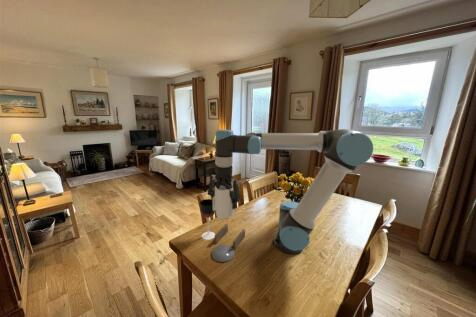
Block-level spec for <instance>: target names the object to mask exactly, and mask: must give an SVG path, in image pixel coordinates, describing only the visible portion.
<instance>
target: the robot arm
mask: <svg viewBox="0 0 476 317" xmlns="http://www.w3.org/2000/svg"><path fill="white" fill-rule="evenodd" d="M214 142H215V147H214V148H215V150H214V151H215V155H214V156H215V158H214V159H215V162H214V163H215V170H214V172H215V174H211V175H210V176H209V183H208V184H209V185H208V190H207V195H208V196H210V197H211V198H210V199H211V202H212V203H213V211H215V212H216V207H215V185H216V187H217V189H219V187H220V185H223V186H225V187H226V189H229V190H230V189H232V188H233V191H231V190H230V191H229V195H230V198H231V200H232V202H230V216H231V217H232V216H234V215H235V209H236V208H237V203H239V202H240V201H241V195H240V189H239V188H240V187H239V178H233V161H234V160H233V156H234V154H246V155H247V154H248V155H259V154H260V153H261V151H262V150H294V151H296V150H298V151H299V150H300V151H301V150H303V151H307V150H308V151H317V152H318V153H325V154H324V160H325V161H324V163H323V165H322V166H321V168H320V169H319V171H318V173H317V175H316V176H315V178H314V179H313V181H312V183H311V184H310V186H309V187H308V189H307V190H306V192H305V193H304V195H303V196H302V198H301V200H300V201H299V202H296V201H290V200H289V201H287V200H286V201H282V202H280V205H279V215H278V229H277V231H276V233H275V235H274V236H273V237H274V238H273V244H274V246H275V248H277V250H279V251H281V252H282V253H285V254H288V255H297V254H300V253H301V252H303V251H304V250H305V249H306V248H308V246H309V244H310V241H311V240H310V239H311V238H310V235H311V233H312V232H313V230H314V229H315V227H316V225H315V224H316V223H315V220H316V219H317V217H318V215H320V213H321V211H322V210H323V208H324V207H325V205H327V202H328V201H329V200H330V198H331V196H333V194H334V192H335V191H336V190H337V188H338V187H339V186H340V184H341V182H342V181H343V180H344V178H346V175H347V174H350V173H353V172H355V170H356V169H357V167H358V166H360V165H363V164H366V162H368V161H369V160H370V158H372V155H373V152H374V145H373V141H372V140H371V138H370V137H369V136H368V135H367V134H365V133H363V132H361V131H357V130H351V129H345V128H343V129H342V128H341V129H333V130H332V129H331V130H320V131H319V132H316V133H315V132H309V133H307V132H301V133H300V132H291V133H289V132H287V133H286V132H283V133H282V132H277V133H276V132H262V133H261V132H249V133H246V134H245V135H237V134H235V133H234V130H232V129H218V130H216V131H215V140H214ZM228 185H229V186H228Z"/></svg>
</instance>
